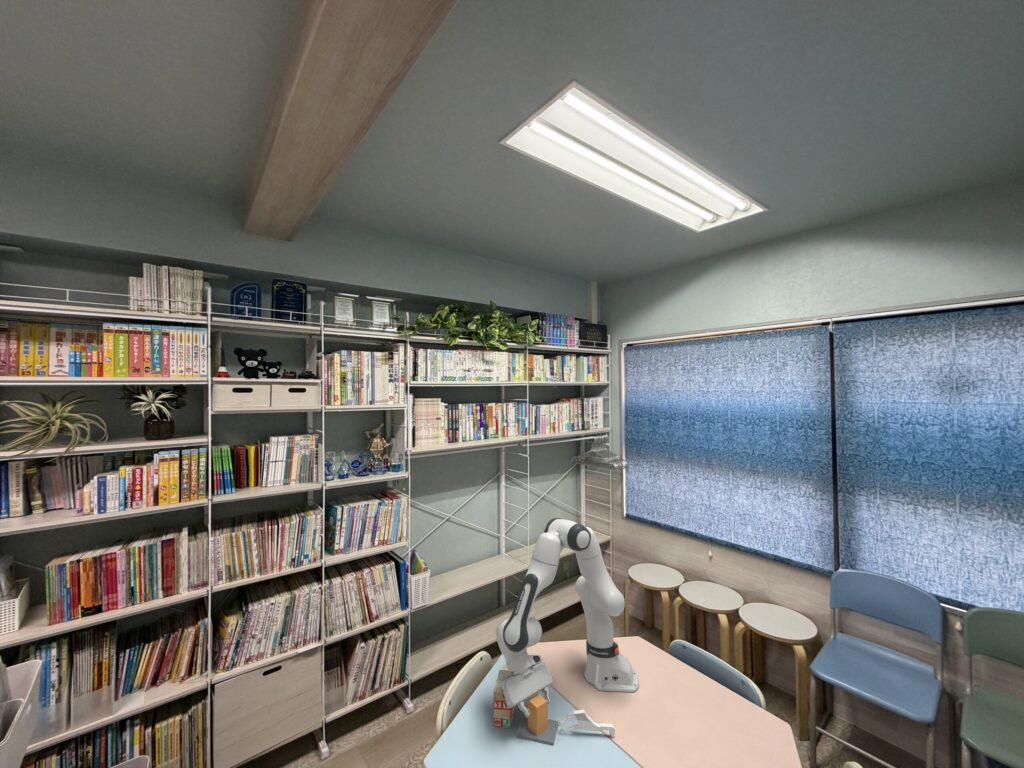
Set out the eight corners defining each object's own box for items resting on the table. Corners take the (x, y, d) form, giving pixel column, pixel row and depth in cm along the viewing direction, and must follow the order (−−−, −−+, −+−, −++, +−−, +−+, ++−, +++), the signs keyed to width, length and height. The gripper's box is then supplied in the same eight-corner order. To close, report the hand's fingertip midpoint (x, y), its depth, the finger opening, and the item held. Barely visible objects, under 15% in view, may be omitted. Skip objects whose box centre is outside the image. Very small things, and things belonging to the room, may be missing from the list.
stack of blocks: (503, 687, 162) (503, 655, 163) (518, 688, 161) (518, 656, 162) (493, 727, 141) (493, 690, 142) (510, 728, 140) (510, 692, 141)
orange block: (538, 720, 143) (537, 693, 144) (547, 728, 139) (547, 701, 140) (527, 726, 140) (527, 699, 141) (537, 735, 136) (537, 707, 137)
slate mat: (558, 723, 142) (558, 721, 142) (553, 745, 133) (553, 742, 133) (523, 716, 146) (523, 714, 146) (516, 737, 136) (516, 734, 136)
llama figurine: (569, 754, 137) (617, 736, 135) (556, 721, 138) (603, 703, 137) (569, 749, 138) (616, 732, 137) (556, 717, 140) (603, 699, 139)
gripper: (502, 675, 140) (520, 720, 131) (544, 653, 153) (562, 693, 144) (494, 682, 143) (512, 727, 134) (536, 660, 156) (554, 700, 147)
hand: (538, 709), depth 139 cm, fingers open, 8 cm apart
